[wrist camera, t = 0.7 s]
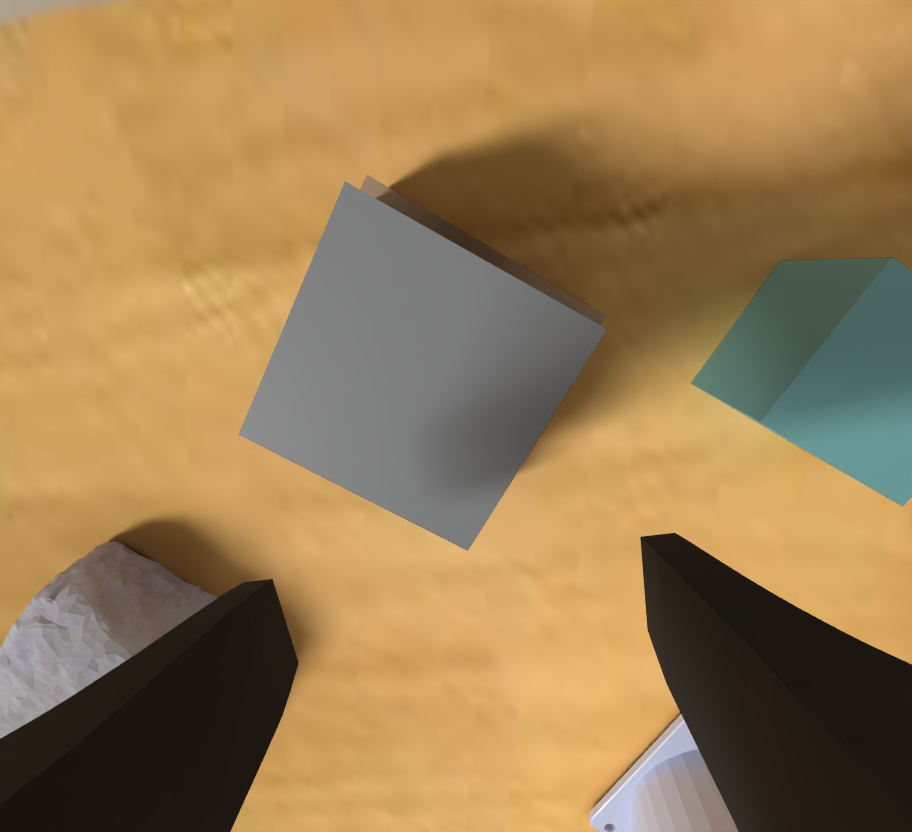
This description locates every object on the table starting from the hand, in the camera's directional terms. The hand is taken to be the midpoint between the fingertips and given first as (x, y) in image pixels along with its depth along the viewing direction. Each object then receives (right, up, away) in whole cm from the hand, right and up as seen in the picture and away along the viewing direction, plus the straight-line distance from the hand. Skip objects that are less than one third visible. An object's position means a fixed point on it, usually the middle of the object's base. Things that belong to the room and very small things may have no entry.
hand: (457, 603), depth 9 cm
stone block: (-14, -8, +14) cm, 22 cm away
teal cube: (+12, +6, +8) cm, 15 cm away
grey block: (-1, +5, +6) cm, 8 cm away
